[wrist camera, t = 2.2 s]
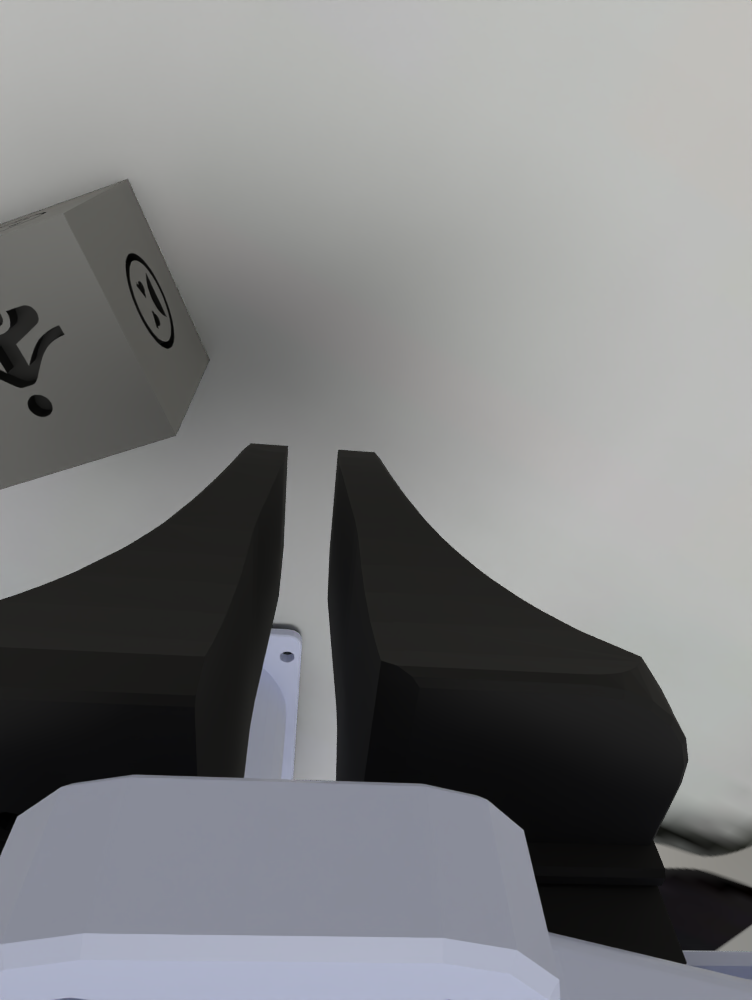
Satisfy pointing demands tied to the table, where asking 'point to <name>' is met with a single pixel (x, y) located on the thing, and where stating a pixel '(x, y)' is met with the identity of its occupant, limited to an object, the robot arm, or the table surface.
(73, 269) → the dice cube
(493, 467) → the table surface
